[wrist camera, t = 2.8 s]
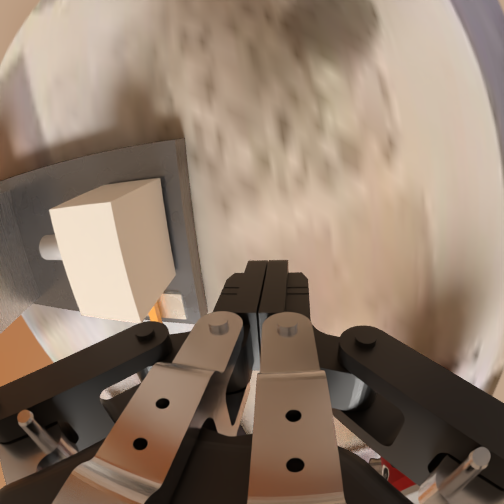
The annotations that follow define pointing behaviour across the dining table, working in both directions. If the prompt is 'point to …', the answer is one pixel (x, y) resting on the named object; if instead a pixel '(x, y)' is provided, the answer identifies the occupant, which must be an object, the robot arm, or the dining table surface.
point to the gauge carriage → (114, 249)
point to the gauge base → (77, 183)
